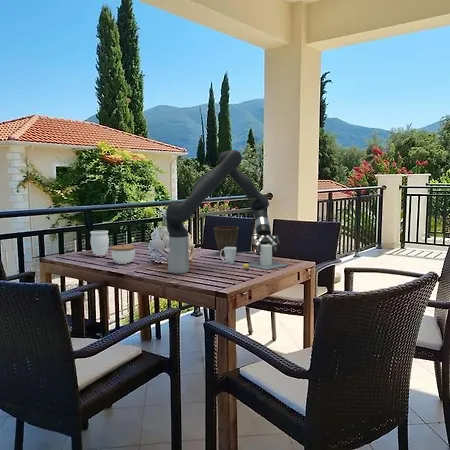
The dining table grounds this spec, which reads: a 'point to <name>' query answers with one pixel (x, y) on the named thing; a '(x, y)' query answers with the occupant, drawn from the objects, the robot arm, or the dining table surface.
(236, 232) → the plant pot
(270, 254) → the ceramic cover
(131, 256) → the lidded bowl
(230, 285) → the dining table surface
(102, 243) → the jar
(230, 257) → the cup
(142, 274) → the dining table surface
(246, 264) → the ball
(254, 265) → the rubber mat
